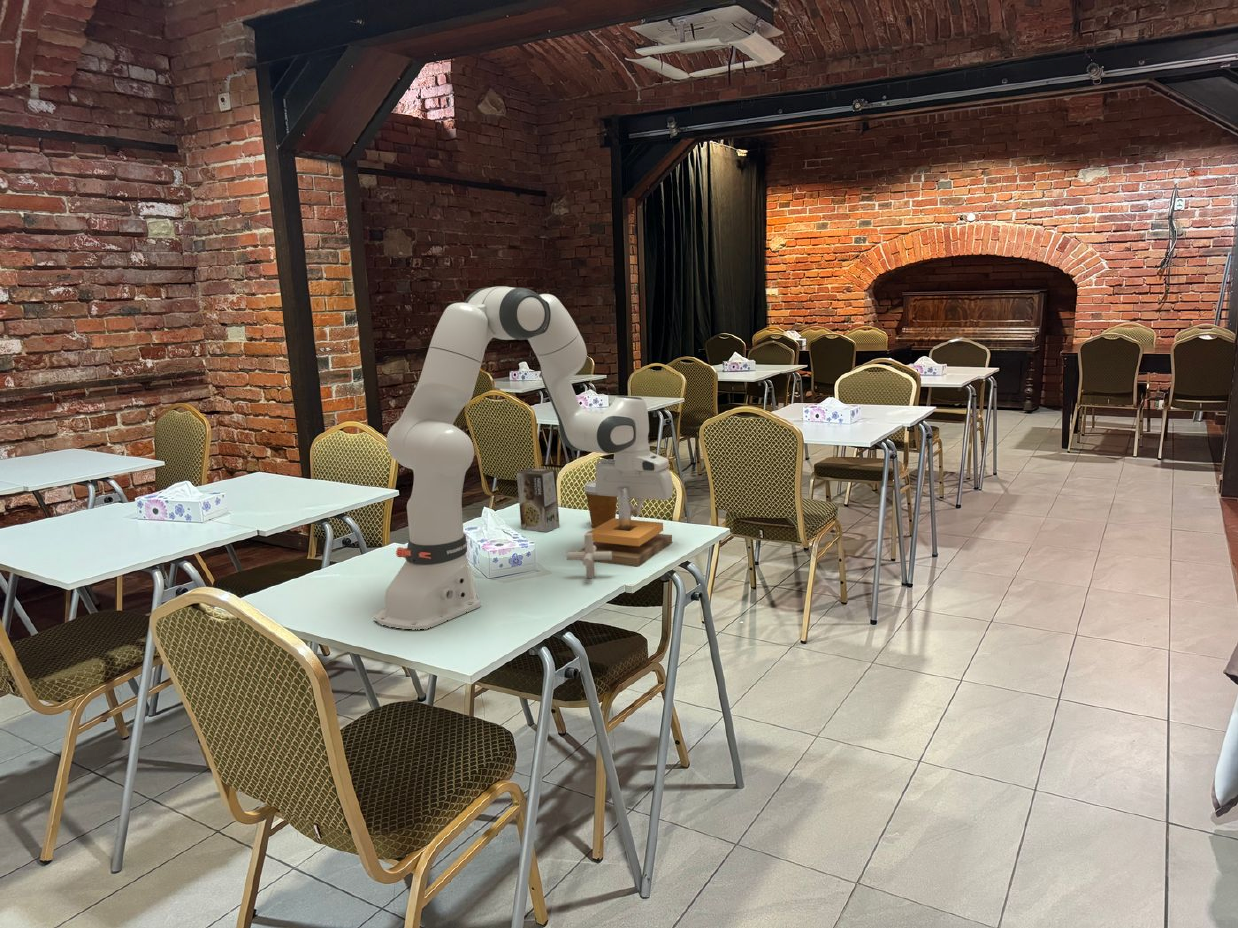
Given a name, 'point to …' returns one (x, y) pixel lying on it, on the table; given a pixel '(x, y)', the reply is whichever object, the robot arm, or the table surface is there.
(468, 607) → the robot arm
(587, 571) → the pipe connector
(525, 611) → the table surface
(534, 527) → the grey-brown upright rectangular box
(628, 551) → the walnut base board
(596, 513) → the disposable coffee cup
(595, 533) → the orange collar
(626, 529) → the metal pipe
